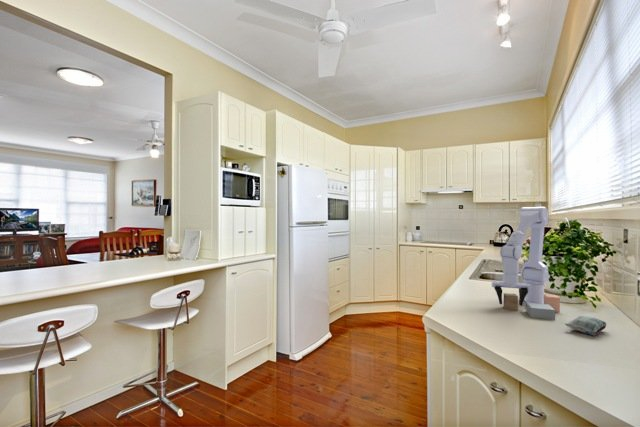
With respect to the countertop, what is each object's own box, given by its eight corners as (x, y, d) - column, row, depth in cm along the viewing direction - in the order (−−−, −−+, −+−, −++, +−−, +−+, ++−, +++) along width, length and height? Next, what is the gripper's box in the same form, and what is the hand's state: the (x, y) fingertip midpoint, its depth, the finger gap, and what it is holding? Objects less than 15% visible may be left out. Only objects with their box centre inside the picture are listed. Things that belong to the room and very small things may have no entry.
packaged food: (564, 331, 114) (565, 317, 113) (577, 324, 120) (577, 311, 120) (596, 339, 106) (596, 324, 106) (607, 332, 113) (608, 318, 113)
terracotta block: (543, 308, 141) (543, 294, 141) (555, 309, 140) (555, 295, 140) (547, 311, 137) (547, 296, 137) (559, 312, 135) (559, 297, 135)
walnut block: (503, 306, 143) (503, 293, 143) (515, 307, 142) (515, 293, 142) (505, 309, 139) (505, 295, 139) (517, 310, 138) (517, 296, 138)
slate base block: (526, 312, 136) (526, 302, 136) (548, 314, 133) (549, 304, 133) (531, 317, 129) (531, 307, 129) (555, 320, 126) (555, 309, 126)
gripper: (493, 273, 139) (493, 305, 139) (532, 275, 134) (532, 308, 134) (490, 271, 146) (490, 301, 146) (527, 272, 141) (527, 304, 141)
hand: (510, 304), depth 140 cm, fingers open, 7 cm apart
